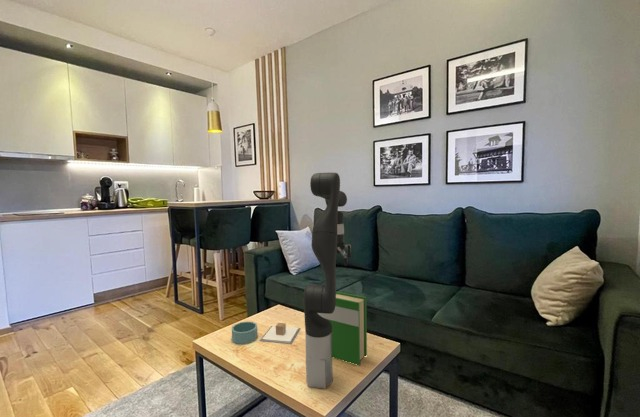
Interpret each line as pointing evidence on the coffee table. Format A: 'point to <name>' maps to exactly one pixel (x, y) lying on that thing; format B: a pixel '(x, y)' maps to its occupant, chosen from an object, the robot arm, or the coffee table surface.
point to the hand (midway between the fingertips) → (336, 265)
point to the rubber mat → (281, 342)
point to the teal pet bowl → (244, 333)
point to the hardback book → (348, 327)
